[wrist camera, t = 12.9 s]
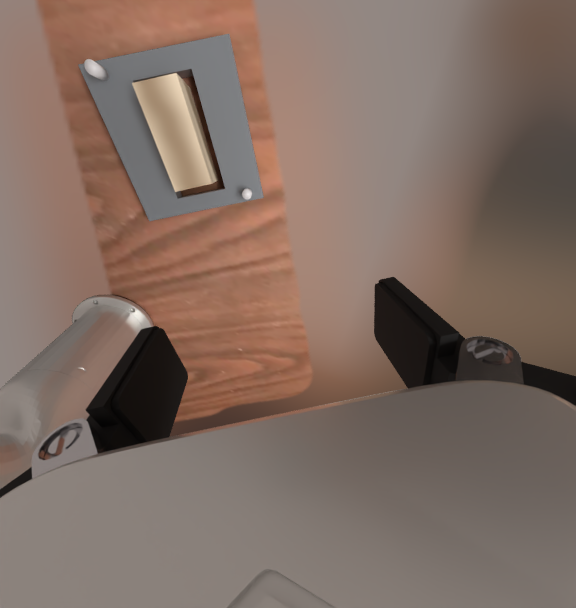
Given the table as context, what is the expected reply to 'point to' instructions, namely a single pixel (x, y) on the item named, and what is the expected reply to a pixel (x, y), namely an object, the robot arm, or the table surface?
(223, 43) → the slot board
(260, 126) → the table surface
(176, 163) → the key block
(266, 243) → the table surface
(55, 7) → the table surface
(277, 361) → the table surface
